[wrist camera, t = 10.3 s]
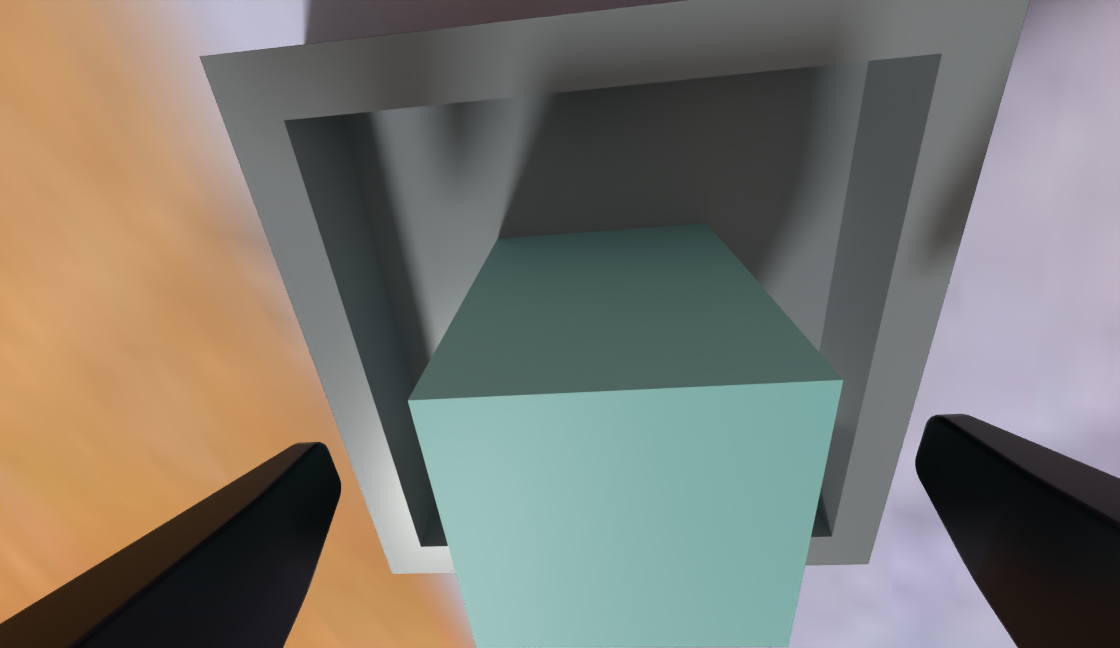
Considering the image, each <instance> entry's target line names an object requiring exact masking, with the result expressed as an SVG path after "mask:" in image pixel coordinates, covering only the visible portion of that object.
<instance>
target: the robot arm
mask: <svg viewBox="0 0 1120 648" xmlns="http://www.w3.org/2000/svg"><path fill="white" fill-rule="evenodd" d="M915 466H916V471H917V475H918V477H919V479H920V481H921V483H922V485H923V487H924V488H925V490H926V492H927V494H928V496H929V498H930V500H931V502H932V504H933V505H934V507H935V509H936V511H937V513H938V515H939V517H940V519H941V520H942V522H943V524H944V526H945V528H946V530H947V532H948V534H949V536H950V537H951V539H952V541H953V543H954V545H955V547H956V549H957V551H958V553H959V554H960V556H961V558H962V560H963V562H964V564H965V565H966V567H967V569H968V571H969V572H970V574H971V576H972V578H973V579H974V581H975V583H976V584H977V586H978V588H979V589H980V591H981V592H982V594H983V595H984V597H985V599H986V600H987V602H988V603H989V605H990V606H991V608H992V609H993V611H994V612H995V614H996V615H997V617H998V618H999V620H1000V622H1001V623H1002V625H1003V626H1004V628H1005V629H1006V631H1007V632H1008V634H1009V635H1010V637H1011V638H1012V640H1013V641H1014V643H1015V644H1016V646H1017V647H1018V648H1120V478H1117V477H1115V476H1112V475H1110V474H1108V473H1105V472H1103V471H1101V470H1098V469H1096V468H1093V467H1091V466H1089V465H1086V464H1084V463H1081V462H1079V461H1077V460H1074V459H1072V458H1070V457H1067V456H1065V455H1062V454H1060V453H1058V452H1055V451H1053V450H1051V449H1048V448H1046V447H1043V446H1041V445H1039V444H1036V443H1034V442H1032V441H1029V440H1027V439H1024V438H1022V437H1020V436H1017V435H1015V434H1012V433H1010V432H1008V431H1005V430H1003V429H1001V428H998V427H996V426H993V425H991V424H989V423H986V422H984V421H982V420H979V419H977V418H974V417H972V416H969V415H966V414H944V415H935V416H932V417H931V418H930V419H929V420H928V421H927V423H926V426H925V429H924V432H923V436H922V439H921V442H920V445H919V449H918V452H917V455H916V459H915ZM340 494H341V481H340V478H339V475H338V473H337V470H336V468H335V465H334V463H333V460H332V457H331V455H330V452H329V450H328V448H327V446H326V445H325V444H323V443H321V442H305V443H297V444H294V445H292V446H290V447H289V448H287V449H285V450H284V451H282V452H281V453H279V454H277V455H276V456H274V457H272V458H271V459H269V460H267V461H266V462H264V463H263V464H261V465H259V466H258V467H256V468H254V469H253V470H251V471H249V472H248V473H246V474H245V475H243V476H241V477H240V478H238V479H236V480H235V481H233V482H231V483H230V484H228V485H227V486H225V487H223V488H222V489H220V490H218V491H217V492H215V493H213V494H212V495H210V496H209V497H207V498H205V499H204V500H202V501H200V502H199V503H197V504H195V505H194V506H192V507H191V508H189V509H187V510H186V511H184V512H182V513H181V514H179V515H177V516H176V517H174V518H173V519H171V520H169V521H168V522H166V523H164V524H163V525H161V526H159V527H158V528H156V529H155V530H153V531H151V532H150V533H148V534H146V535H145V536H143V537H141V538H140V539H138V540H137V541H135V542H133V543H132V544H130V545H128V546H127V547H125V548H123V549H122V550H120V551H119V552H117V553H115V554H114V555H112V556H110V557H109V558H107V559H105V560H104V561H102V562H101V563H99V564H97V565H96V566H94V567H92V568H91V569H89V570H87V571H86V572H84V573H83V574H81V575H79V576H78V577H76V578H74V579H73V580H71V581H69V582H68V583H66V584H65V585H63V586H61V587H60V588H58V589H56V590H55V591H53V592H52V593H50V594H48V595H47V596H45V597H43V598H42V599H40V600H38V601H37V602H35V603H34V604H32V605H30V606H29V607H27V608H25V609H24V610H22V611H20V612H19V613H17V614H16V615H14V616H12V617H11V618H9V619H7V620H6V621H4V622H2V623H1V624H0V648H283V647H284V645H285V642H286V640H287V638H288V636H289V633H290V631H291V629H292V627H293V624H294V622H295V620H296V618H297V615H298V613H299V611H300V609H301V606H302V604H303V601H304V599H305V597H306V594H307V592H308V589H309V586H310V584H311V581H312V578H313V576H314V573H315V570H316V567H317V564H318V561H319V558H320V555H321V552H322V549H323V546H324V543H325V540H326V537H327V534H328V531H329V528H330V525H331V522H332V519H333V516H334V513H335V510H336V507H337V504H338V501H339V498H340Z"/></svg>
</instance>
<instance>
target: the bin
mask: <svg viewBox="0 0 1120 648" xmlns="http://www.w3.org/2000/svg"><path fill="white" fill-rule="evenodd" d="M1029 1H1030V0H686V1H677V2H668V3H659V4H651V5H642V6H633V7H625V8H616V9H607V10H599V11H590V12H581V13H573V14H564V15H555V16H547V17H538V18H529V19H521V20H512V21H503V22H495V23H486V24H477V25H468V26H460V27H451V28H442V29H434V30H425V31H416V32H408V33H399V34H390V35H382V36H373V37H364V38H356V39H347V40H338V41H330V42H321V43H312V44H304V45H295V46H286V47H278V48H269V49H260V50H251V51H243V52H234V53H225V54H217V55H208V56H199V57H200V59H201V62H202V65H203V67H204V70H205V73H206V75H207V78H208V81H209V83H210V86H211V89H212V91H213V94H214V97H215V99H216V102H217V105H218V108H219V110H220V113H221V116H222V118H223V121H224V124H225V126H226V129H227V132H228V134H229V137H230V140H231V142H232V145H233V148H234V150H235V153H236V156H237V158H238V161H239V164H240V167H241V169H242V172H243V175H244V177H245V180H246V183H247V185H248V188H249V191H250V193H251V196H252V199H253V201H254V204H255V207H256V209H257V212H258V215H259V217H260V220H261V223H262V226H263V228H264V231H265V234H266V236H267V239H268V242H269V244H270V247H271V250H272V252H273V255H274V258H275V260H276V263H277V266H278V268H279V271H280V274H281V276H282V279H283V282H284V285H285V287H286V290H287V293H288V295H289V298H290V301H291V303H292V306H293V309H294V311H295V314H296V317H297V319H298V322H299V325H300V327H301V330H302V333H303V335H304V338H305V341H306V344H307V346H308V349H309V352H310V354H311V357H312V360H313V362H314V365H315V368H316V370H317V373H318V376H319V378H320V381H321V384H322V386H323V389H324V392H325V394H326V397H327V400H328V403H329V405H330V408H331V411H332V413H333V416H334V419H335V421H336V424H337V427H338V429H339V432H340V435H341V437H342V440H343V443H344V445H345V448H346V451H347V453H348V456H349V459H350V462H351V464H352V467H353V470H354V472H355V475H356V478H357V480H358V483H359V486H360V488H361V491H362V494H363V496H364V499H365V502H366V504H367V507H368V510H369V512H370V515H371V518H372V521H373V523H374V526H375V529H376V531H377V534H378V537H379V539H380V542H381V545H382V547H383V550H384V553H385V555H386V558H387V561H388V563H389V566H390V569H391V572H392V574H407V573H456V572H455V569H454V565H453V562H452V558H451V554H450V551H449V547H448V544H447V540H446V536H445V533H444V529H443V526H442V522H441V518H440V515H439V511H438V508H437V504H436V501H435V497H434V493H433V490H432V486H431V483H430V479H429V475H428V472H427V468H426V465H425V461H424V457H423V454H422V450H421V447H420V443H419V439H418V436H417V432H416V429H415V425H414V421H413V418H412V414H411V411H410V407H409V404H408V399H409V397H410V395H411V394H412V392H413V390H414V388H415V386H416V385H417V383H418V381H419V379H420V377H421V376H422V374H423V372H424V370H425V368H426V367H427V365H428V363H429V361H430V359H431V358H432V356H433V354H434V352H435V350H436V349H437V347H438V345H439V343H440V341H441V340H442V338H443V336H444V334H445V332H446V331H447V329H448V327H449V325H450V323H451V322H452V320H453V318H454V316H455V314H456V313H457V311H458V309H459V307H460V305H461V304H462V302H463V300H464V298H465V296H466V295H467V293H468V291H469V289H470V287H471V286H472V284H473V282H474V280H475V278H476V277H477V275H478V273H479V271H480V269H481V268H482V266H483V264H484V262H485V260H486V259H487V257H488V255H489V253H490V251H491V250H492V248H493V246H494V244H495V242H496V241H497V239H500V238H514V237H527V236H541V235H554V234H568V233H581V232H595V231H608V230H622V229H635V228H649V227H663V226H676V225H690V224H703V223H707V224H708V225H709V226H710V227H711V228H712V229H713V231H714V232H715V233H716V234H717V235H718V236H719V238H720V239H721V240H722V241H723V242H724V243H725V244H726V246H727V247H728V248H729V249H730V250H731V251H732V252H733V254H734V255H735V256H736V257H737V258H738V259H739V261H740V262H741V263H742V264H743V265H744V266H745V267H746V269H747V270H748V271H749V272H750V273H751V274H752V275H753V277H754V278H755V279H756V280H757V281H758V282H759V284H760V285H761V286H762V287H763V288H764V289H765V290H766V292H767V293H768V294H769V295H770V296H771V297H772V299H773V300H774V301H775V302H776V303H777V304H778V305H779V307H780V308H781V309H782V310H783V311H784V312H785V313H786V315H787V316H788V317H789V318H790V319H791V320H792V322H793V323H794V324H795V325H796V326H797V327H798V328H799V330H800V331H801V332H802V333H803V334H804V335H805V336H806V338H807V339H808V340H809V341H810V342H811V343H812V345H813V346H814V347H815V348H816V349H817V350H818V351H819V353H820V354H821V355H822V356H823V357H824V358H825V359H826V361H827V362H828V363H829V364H830V365H831V366H832V368H833V369H834V370H835V371H836V372H837V373H838V374H839V376H840V377H841V378H842V379H843V384H842V389H841V393H840V398H839V403H838V408H837V413H836V418H835V423H834V427H833V432H832V437H831V442H830V447H829V452H828V457H827V461H826V466H825V471H824V476H823V481H822V486H821V491H820V495H819V500H818V505H817V510H816V515H815V520H814V524H813V529H812V534H811V539H810V544H809V549H808V554H807V558H806V563H805V565H849V564H868V563H869V560H870V556H871V553H872V549H873V546H874V542H875V539H876V535H877V532H878V528H879V525H880V521H881V518H882V514H883V511H884V507H885V504H886V501H887V497H888V494H889V490H890V487H891V483H892V480H893V476H894V473H895V469H896V466H897V462H898V459H899V455H900V452H901V448H902V445H903V441H904V438H905V434H906V431H907V427H908V424H909V420H910V417H911V413H912V410H913V406H914V403H915V399H916V396H917V392H918V389H919V385H920V382H921V378H922V375H923V371H924V368H925V364H926V361H927V357H928V354H929V350H930V347H931V343H932V340H933V336H934V333H935V329H936V326H937V322H938V319H939V316H940V312H941V309H942V305H943V302H944V298H945V295H946V291H947V288H948V284H949V281H950V277H951V274H952V270H953V267H954V263H955V260H956V256H957V253H958V249H959V246H960V242H961V239H962V235H963V232H964V228H965V225H966V221H967V218H968V214H969V211H970V207H971V204H972V200H973V197H974V193H975V190H976V186H977V183H978V179H979V176H980V172H981V169H982V165H983V162H984V158H985V155H986V151H987V148H988V144H989V141H990V137H991V134H992V131H993V127H994V124H995V120H996V117H997V113H998V110H999V106H1000V103H1001V99H1002V96H1003V92H1004V89H1005V85H1006V82H1007V78H1008V75H1009V71H1010V68H1011V64H1012V61H1013V57H1014V54H1015V50H1016V47H1017V43H1018V40H1019V36H1020V33H1021V29H1022V26H1023V22H1024V19H1025V15H1026V12H1027V8H1028V5H1029Z"/></svg>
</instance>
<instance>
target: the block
mask: <svg viewBox="0 0 1120 648" xmlns="http://www.w3.org/2000/svg"><path fill="white" fill-rule="evenodd" d="M842 384H843V379H842V378H841V377H840V376H839V374H838V373H837V372H836V371H835V370H834V369H833V368H832V366H831V365H830V364H829V363H828V362H827V361H826V359H825V358H824V357H823V356H822V355H821V354H820V353H819V351H818V350H817V349H816V348H815V347H814V346H813V345H812V343H811V342H810V341H809V340H808V339H807V338H806V336H805V335H804V334H803V333H802V332H801V331H800V330H799V328H798V327H797V326H796V325H795V324H794V323H793V322H792V320H791V319H790V318H789V317H788V316H787V315H786V313H785V312H784V311H783V310H782V309H781V308H780V307H779V305H778V304H777V303H776V302H775V301H774V300H773V299H772V297H771V296H770V295H769V294H768V293H767V292H766V290H765V289H764V288H763V287H762V286H761V285H760V284H759V282H758V281H757V280H756V279H755V278H754V277H753V275H752V274H751V273H750V272H749V271H748V270H747V269H746V267H745V266H744V265H743V264H742V263H741V262H740V261H739V259H738V258H737V257H736V256H735V255H734V254H733V252H732V251H731V250H730V249H729V248H728V247H727V246H726V244H725V243H724V242H723V241H722V240H721V239H720V238H719V236H718V235H717V234H716V233H715V232H714V231H713V229H712V228H711V227H710V226H709V225H708V224H707V223H703V224H690V225H676V226H663V227H649V228H635V229H622V230H608V231H595V232H581V233H568V234H554V235H541V236H527V237H514V238H500V239H497V241H496V242H495V244H494V246H493V248H492V250H491V251H490V253H489V255H488V257H487V259H486V260H485V262H484V264H483V266H482V268H481V269H480V271H479V273H478V275H477V277H476V278H475V280H474V282H473V284H472V286H471V287H470V289H469V291H468V293H467V295H466V296H465V298H464V300H463V302H462V304H461V305H460V307H459V309H458V311H457V313H456V314H455V316H454V318H453V320H452V322H451V323H450V325H449V327H448V329H447V331H446V332H445V334H444V336H443V338H442V340H441V341H440V343H439V345H438V347H437V349H436V350H435V352H434V354H433V356H432V358H431V359H430V361H429V363H428V365H427V367H426V368H425V370H424V372H423V374H422V376H421V377H420V379H419V381H418V383H417V385H416V386H415V388H414V390H413V392H412V394H411V395H410V397H409V399H408V404H409V407H410V411H411V414H412V418H413V421H414V425H415V429H416V432H417V436H418V439H419V443H420V447H421V450H422V454H423V457H424V461H425V465H426V468H427V472H428V475H429V479H430V483H431V486H432V490H433V493H434V497H435V501H436V504H437V508H438V511H439V515H440V518H441V522H442V526H443V529H444V533H445V536H446V540H447V544H448V547H449V551H450V554H451V558H452V562H453V565H454V569H455V572H456V576H457V580H458V583H459V587H460V590H461V594H462V598H463V601H464V605H465V608H466V612H467V615H468V619H469V623H470V626H471V630H472V633H473V637H474V641H475V644H476V648H641V647H788V646H789V641H790V636H791V631H792V626H793V621H794V617H795V612H796V607H797V602H798V597H799V592H800V588H801V583H802V578H803V573H804V568H805V563H806V558H807V554H808V549H809V544H810V539H811V534H812V529H813V524H814V520H815V515H816V510H817V505H818V500H819V495H820V491H821V486H822V481H823V476H824V471H825V466H826V461H827V457H828V452H829V447H830V442H831V437H832V432H833V427H834V423H835V418H836V413H837V408H838V403H839V398H840V393H841V389H842Z"/></svg>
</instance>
